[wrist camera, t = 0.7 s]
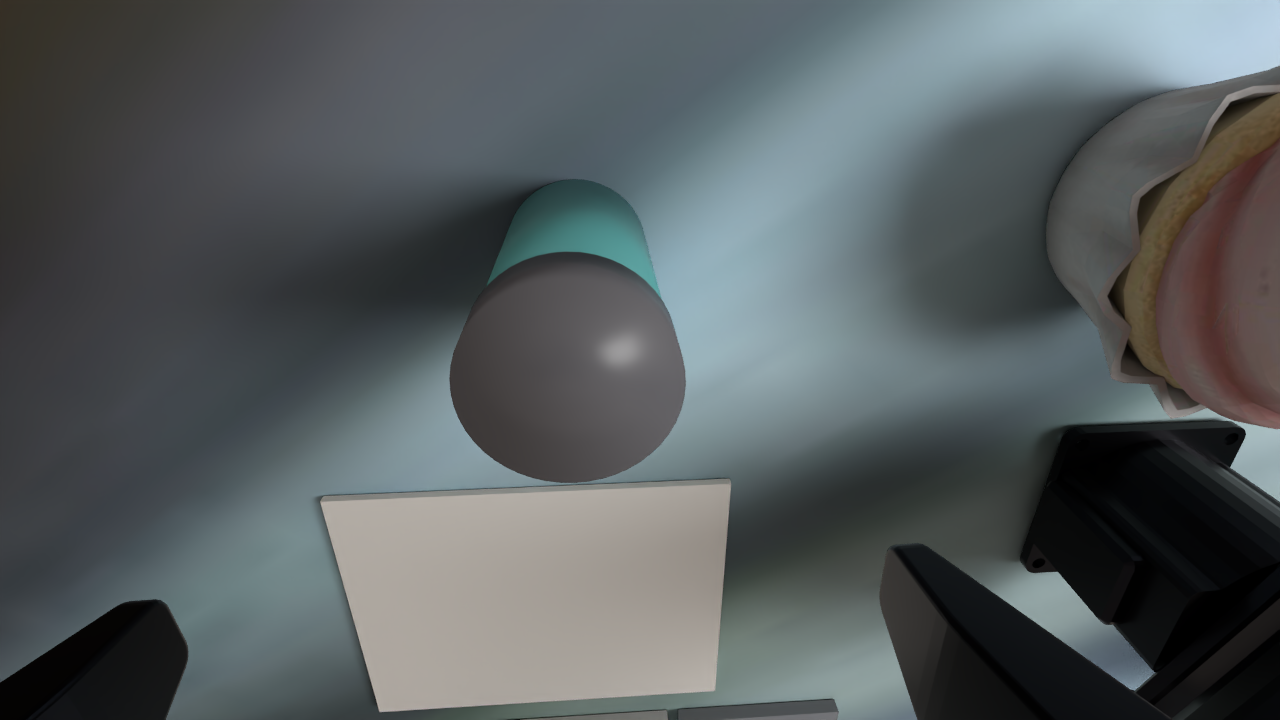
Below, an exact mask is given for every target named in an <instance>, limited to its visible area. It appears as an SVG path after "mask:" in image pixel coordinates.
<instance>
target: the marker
mask: <svg viewBox="0 0 1280 720" xmlns="http://www.w3.org/2000/svg"><path fill="white" fill-rule="evenodd" d="M685 386H686V380H685V368H684V363H683V358H682V354H681V350H680V347H679V343H678V340H677V336H676V333H675V329H674V325H673V323H672V320H671V317H670V314H669V312H668V310H667V308H666V306H665V304H664V302H663V301H662V299H661V296H660V292H659V288H658V284H657V281H656V277H655V273H654V269H653V265H652V262H651V258H650V254H649V250H648V246H647V242H646V239H645V235H644V231H643V228H642V225H641V222H640V220H639V218H638V216H637V214H636V213H635V211H634V210H633V208H632V207H631V206H630V205H629V203H628V202H627V201H626V200H625V199H624V198H623V197H621V196H620V195H619V194H618V193H616V192H615V191H613V190H612V189H610V188H608V187H606V186H604V185H602V184H599V183H595V182H592V181H587V180H576V179H572V180H563V181H558V182H554V183H551V184H549V185H546V186H544V187H542V188H540V189H539V190H537V191H536V192H534V193H533V194H531V195H530V196H529V197H528V198H527V199H526V200H525V201H524V202H523V203H522V205H521V206H520V207H519V208H518V210H517V212H516V213H515V215H514V217H513V220H512V222H511V224H510V227H509V230H508V232H507V235H506V237H505V240H504V242H503V245H502V247H501V250H500V252H499V255H498V257H497V260H496V263H495V265H494V268H493V270H492V273H491V275H490V278H489V280H488V283H487V285H486V288H485V289H484V290H483V291H482V293H481V294H480V295H479V297H478V298H477V300H476V302H475V303H474V305H473V307H472V309H471V311H470V314H469V316H468V319H467V321H466V323H465V326H464V328H463V331H462V333H461V335H460V338H459V340H458V343H457V345H456V348H455V350H454V353H453V357H452V362H451V367H450V391H451V397H452V401H453V405H454V408H455V411H456V413H457V416H458V418H459V420H460V422H461V424H462V425H463V427H464V429H465V431H466V432H467V433H468V435H469V436H470V437H471V439H472V440H473V441H474V442H475V443H476V444H477V445H478V446H479V447H480V448H481V449H482V450H483V451H484V452H485V453H486V454H487V455H489V456H490V457H491V458H493V459H494V460H495V461H497V462H499V463H500V464H502V465H503V466H505V467H507V468H509V469H511V470H513V471H515V472H517V473H520V474H523V475H526V476H529V477H532V478H536V479H540V480H545V481H552V482H560V483H577V482H587V481H593V480H598V479H603V478H606V477H609V476H612V475H615V474H618V473H620V472H622V471H624V470H627V469H629V468H631V467H632V466H634V465H636V464H637V463H639V462H641V461H642V460H643V459H645V458H646V457H647V456H649V455H650V454H651V453H652V452H653V451H654V450H655V449H656V448H657V447H658V446H659V445H660V444H661V443H662V442H663V441H664V439H665V438H666V437H667V436H668V434H669V433H670V431H671V430H672V428H673V426H674V425H675V423H676V421H677V418H678V416H679V414H680V411H681V408H682V404H683V400H684V395H685Z"/></svg>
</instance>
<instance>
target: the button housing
mask: <svg viewBox="0 0 1280 720" xmlns="http://www.w3.org/2000/svg"><path fill="white" fill-rule="evenodd" d="M522 720H668V716H667V710H661V711H646V712H630V713H615V714H599V715H584V716H568V717H553V718H537V719H522Z"/></svg>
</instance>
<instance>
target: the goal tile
mask: <svg viewBox="0 0 1280 720" xmlns="http://www.w3.org/2000/svg"><path fill="white" fill-rule="evenodd" d="M837 717H838V709H837V706H836V703H835V701H834V699H832V700H816V701H801V702H785V703H770V704H754V705H739V706H723V707H708V708H692V709H678V720H837Z"/></svg>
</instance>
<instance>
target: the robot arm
mask: <svg viewBox="0 0 1280 720" xmlns="http://www.w3.org/2000/svg"><path fill="white" fill-rule="evenodd" d="M1245 435H1246V433H1245V430H1244V429H1243V428H1241V427H1240V426H1238V425H1237V424H1235V423H1233V422H1231V421H1213V422H1188V423H1163V424H1138V425H1112V426H1087V427H1076V428H1073V429H1071V430H1069V431H1068V432H1066V433H1065V434H1064V436H1063V437H1062V439H1061V442H1060V445H1059V448H1058V450H1057V453H1056V456H1055V459H1054V462H1053V465H1052V468H1051V470H1050V473H1049V476H1048V479H1047V482H1046V485H1045V487H1044V490H1043V493H1042V496H1041V499H1040V502H1039V505H1038V507H1037V510H1036V513H1035V516H1034V519H1033V522H1032V525H1031V527H1030V530H1029V533H1028V536H1027V539H1026V542H1025V544H1024V547H1023V550H1022V553H1021V556H1020V561H1021V563H1022V564H1023V565H1024V567H1025V568H1026V569H1027V570H1028V571H1029V572H1032V573H1041V572H1059V574H1060V575H1061V576H1062V577H1063V578H1064V579H1065V581H1066V582H1067V583H1068V584H1069V585H1070V586H1071V588H1072V589H1073V590H1074V591H1075V592H1076V593H1077V595H1078V596H1079V597H1080V598H1081V599H1082V600H1083V602H1084V603H1085V604H1086V605H1087V606H1088V607H1089V609H1090V610H1091V611H1092V612H1093V613H1094V614H1095V616H1096V617H1097V618H1098V619H1099V620H1100V621H1101V622H1102V623H1104V624H1106V625H1114V626H1115V627H1116V629H1117V630H1118V631H1119V632H1120V633H1121V634H1122V635H1123V637H1124V638H1125V639H1126V640H1127V641H1128V642H1129V644H1130V645H1131V646H1132V647H1133V648H1134V649H1135V650H1136V652H1137V653H1138V654H1139V655H1140V656H1141V657H1142V658H1143V660H1144V661H1145V662H1146V663H1147V664H1148V665H1149V666H1150V668H1151V669H1152V670H1153V671H1154V672H1156V673H1155V674H1153V675H1152V676H1151V677H1150V678H1149V679H1148V680H1147V681H1145V682H1144V683H1143V684H1142V685H1141V686H1140V687H1139V688H1137V689H1136V690H1135V691H1134V690H1130V689H1129V688H1127V687H1126V686H1125V685H1123V684H1122V683H1120V682H1119V681H1118V680H1116V679H1115V678H1113V677H1112V676H1110V675H1109V674H1108V673H1106V672H1105V671H1103V670H1102V669H1100V668H1099V667H1098V666H1096V665H1095V664H1093V663H1092V662H1091V661H1089V660H1088V659H1086V658H1085V657H1083V656H1082V655H1081V654H1079V653H1078V652H1076V651H1075V650H1074V649H1072V648H1071V647H1069V646H1068V645H1066V644H1065V643H1064V642H1062V641H1061V640H1059V639H1058V638H1056V637H1055V636H1054V635H1052V634H1051V633H1049V632H1048V631H1047V630H1045V629H1044V628H1042V627H1041V626H1039V625H1038V624H1037V623H1035V622H1034V621H1032V620H1031V619H1030V618H1028V617H1027V616H1025V615H1024V614H1022V613H1021V612H1020V611H1018V610H1017V609H1015V608H1014V607H1012V606H1011V605H1010V604H1008V603H1007V602H1005V601H1004V600H1003V599H1001V598H1000V597H998V596H997V595H995V594H994V593H993V592H991V591H990V590H988V589H987V588H986V587H984V586H983V585H981V584H980V583H978V582H977V581H976V580H974V579H973V578H971V577H970V576H968V575H967V574H966V573H964V572H963V571H961V570H960V569H959V568H957V567H956V566H954V565H953V564H951V563H950V562H949V561H947V560H946V559H944V558H943V557H942V556H940V555H939V554H937V553H936V552H934V551H933V550H932V549H930V548H929V547H927V546H925V545H923V544H919V543H914V544H900V545H893V546H891V547H890V548H889V549H888V551H887V554H886V558H885V564H884V569H883V575H882V581H881V587H880V605H881V610H882V613H883V616H884V619H885V622H886V625H887V628H888V631H889V634H890V638H891V641H892V644H893V647H894V650H895V653H896V656H897V659H898V662H899V665H900V668H901V671H902V674H903V677H904V681H905V684H906V687H907V690H908V693H909V696H910V699H911V702H912V705H913V708H914V711H915V714H916V717H917V720H1280V502H1279V501H1277V500H1276V499H1275V498H1273V497H1272V496H1270V495H1269V494H1267V493H1266V492H1264V491H1263V490H1262V489H1260V488H1259V487H1257V486H1256V485H1254V484H1253V483H1251V482H1250V481H1249V480H1247V479H1246V478H1244V477H1243V476H1241V475H1240V474H1238V473H1237V472H1236V471H1234V470H1233V469H1231V468H1230V466H1231V464H1232V462H1233V460H1234V458H1235V456H1236V455H1237V453H1238V451H1239V449H1240V447H1241V445H1242V443H1243V441H1244V439H1245ZM1080 440H1081V441H1080ZM1079 441H1080V442H1079ZM1077 442H1079V443H1077ZM187 660H188V645H187V642H186V640H185V638H184V636H183V634H182V632H181V630H180V628H179V627H178V625H177V623H176V621H175V619H174V617H173V615H172V613H171V611H170V609H169V607H168V606H167V604H166V603H164V602H163V601H161V600H156V599H155V600H141V601H129V602H125V603H122V604H120V605H118V606H116V607H115V608H113V609H112V610H110V611H109V612H107V613H106V614H104V615H103V616H101V617H100V618H98V619H96V620H95V621H93V622H92V623H90V624H89V625H87V626H86V627H84V628H83V629H81V630H80V631H78V632H77V633H75V634H74V635H72V636H71V637H69V638H68V639H66V640H64V641H63V642H61V643H60V644H58V645H57V646H55V647H54V648H52V649H51V650H49V651H48V652H46V653H45V654H43V655H42V656H40V657H39V658H37V659H36V660H34V661H33V662H31V663H29V664H28V665H26V666H25V667H23V668H22V669H20V670H19V671H17V672H16V673H14V674H13V675H11V676H10V677H8V678H7V679H5V680H4V681H2V682H1V683H0V720H166V717H167V715H168V712H169V710H170V707H171V704H172V702H173V699H174V697H175V694H176V691H177V689H178V686H179V684H180V681H181V678H182V676H183V673H184V671H185V668H186V665H187Z"/></svg>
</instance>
